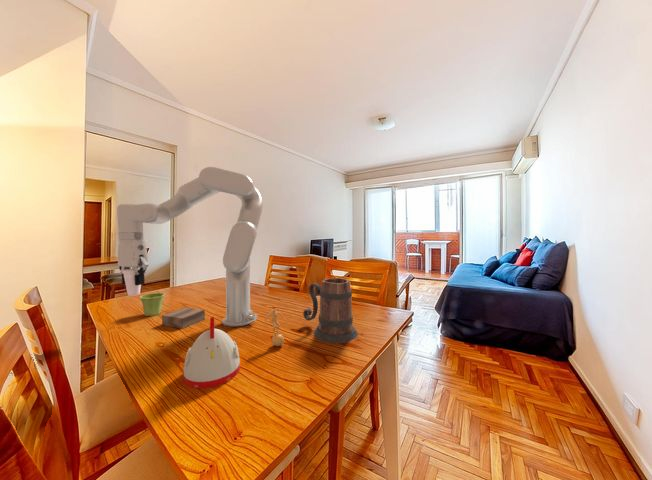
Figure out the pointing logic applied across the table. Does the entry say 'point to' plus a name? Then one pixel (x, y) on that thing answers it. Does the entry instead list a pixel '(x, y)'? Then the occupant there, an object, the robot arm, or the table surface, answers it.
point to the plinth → (183, 317)
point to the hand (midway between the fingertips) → (133, 283)
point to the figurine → (277, 338)
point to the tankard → (332, 311)
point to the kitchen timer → (211, 359)
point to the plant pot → (152, 303)
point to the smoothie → (131, 282)
